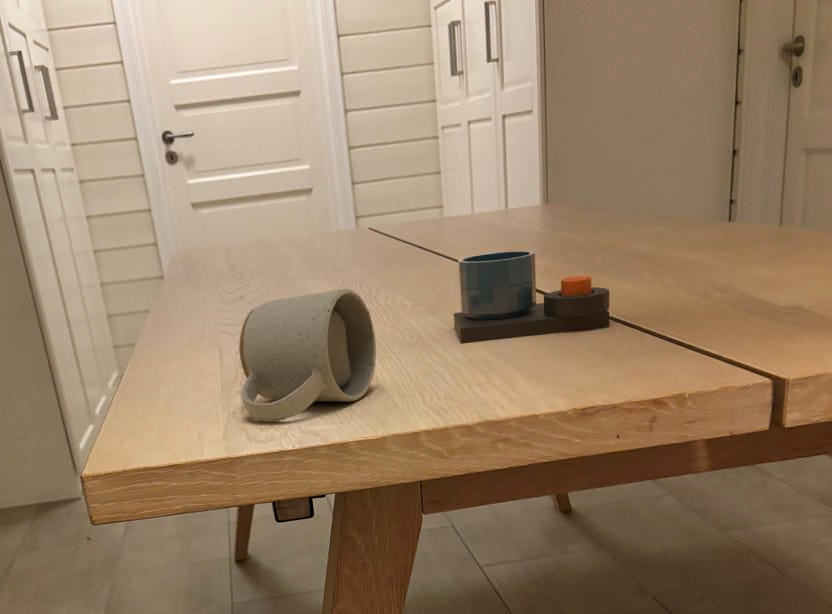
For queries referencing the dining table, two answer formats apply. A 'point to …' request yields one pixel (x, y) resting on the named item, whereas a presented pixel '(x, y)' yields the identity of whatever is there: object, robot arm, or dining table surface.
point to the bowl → (497, 285)
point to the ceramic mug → (306, 353)
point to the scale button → (576, 286)
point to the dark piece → (541, 318)
